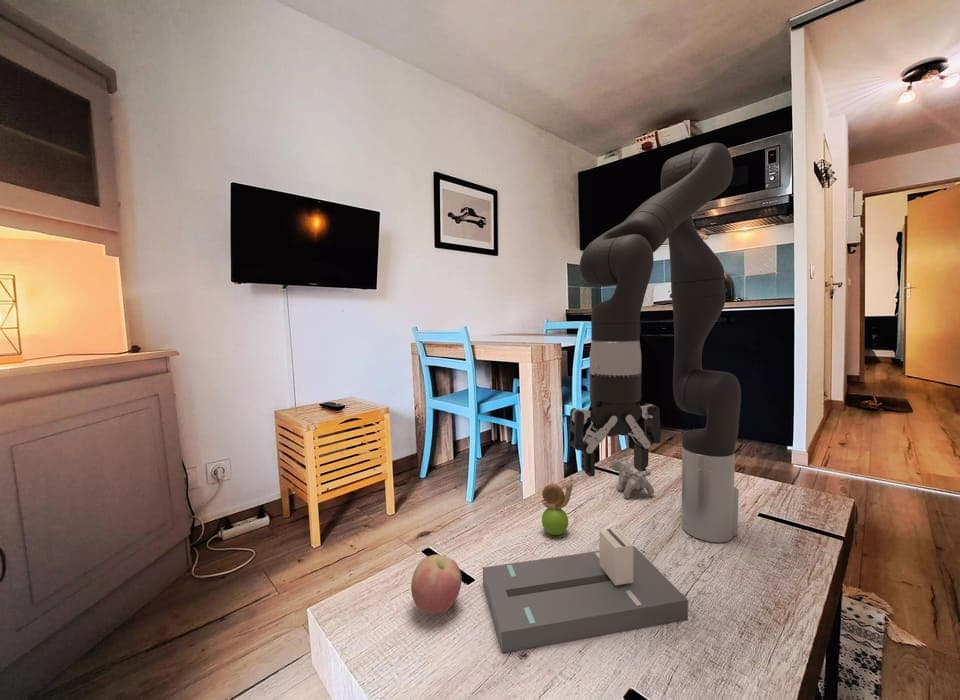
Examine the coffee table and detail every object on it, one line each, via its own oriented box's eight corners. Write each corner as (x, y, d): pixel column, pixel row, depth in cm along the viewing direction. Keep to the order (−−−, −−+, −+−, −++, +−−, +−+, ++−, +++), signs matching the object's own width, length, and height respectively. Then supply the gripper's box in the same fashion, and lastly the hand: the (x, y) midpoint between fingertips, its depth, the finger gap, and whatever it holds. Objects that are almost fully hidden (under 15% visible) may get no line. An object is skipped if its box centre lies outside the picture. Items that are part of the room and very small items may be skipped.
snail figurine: (573, 542, 78) (573, 483, 77) (541, 539, 79) (540, 482, 78) (572, 527, 83) (572, 473, 82) (542, 525, 84) (541, 471, 83)
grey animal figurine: (633, 504, 93) (633, 472, 92) (598, 485, 104) (597, 457, 103) (660, 495, 96) (661, 465, 96) (624, 478, 107) (624, 451, 107)
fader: (616, 562, 65) (616, 527, 65) (633, 582, 60) (633, 544, 60) (599, 565, 65) (599, 529, 64) (615, 585, 60) (615, 547, 59)
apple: (441, 636, 55) (439, 583, 55) (401, 616, 59) (399, 566, 59) (471, 601, 62) (470, 553, 61) (434, 585, 66) (432, 540, 66)
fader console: (634, 561, 71) (634, 545, 71) (687, 619, 57) (688, 599, 57) (483, 584, 66) (482, 566, 66) (502, 653, 52) (501, 631, 52)
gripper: (643, 365, 65) (642, 460, 66) (562, 369, 63) (562, 467, 64) (672, 370, 58) (671, 477, 59) (582, 375, 55) (582, 486, 56)
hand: (614, 472), depth 61 cm, fingers open, 8 cm apart
